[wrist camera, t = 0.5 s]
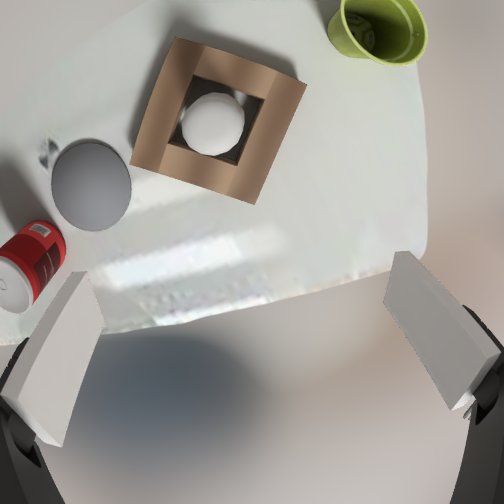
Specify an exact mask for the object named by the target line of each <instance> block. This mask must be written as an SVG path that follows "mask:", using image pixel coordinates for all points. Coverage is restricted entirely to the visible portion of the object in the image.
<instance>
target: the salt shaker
mask: <svg viewBox="0 0 504 504" xmlns="http://www.w3.org/2000/svg"><path fill="white" fill-rule="evenodd" d="M181 124H182V134H183V137H184V139H185V140H186V142H187V144H188V145H189V147H190V148H192V149H194V150H195V151H197V152H199V153H200V154H205V155H213V156H215V155H218V154H221V153H224V152H228V151H229V150H230V149H231V148H232V147H233V146H234V145H236V144H237V143H238V141H239V138H240V136H241V134H242V131H243V126H244V111H243V109H242V107H241V106H240V104H239V102H238V101H237V100H236V99H234V98H233V97H231V96H230V95H228V94H226V93H217V92H212V93H209V94H206V95H202V96H200V97H199V98H198V99H197V100H196V101H195V102H194V103H193V104H192V105H191V106H190V107H189V108H188V109H187V110H186V112H185V115H184V117H183V120H182V122H181Z"/></svg>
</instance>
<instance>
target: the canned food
mask: <svg viewBox="0 0 504 504" xmlns="http://www.w3.org/2000/svg"><path fill="white" fill-rule="evenodd" d="M65 255H66V245H65V241H64V238H63V236H62V234H61V233H60V232H59V230H58V229H57V228H56V227H55V226H53V225H52V224H50V223H48V222H46V221H35V222H31V223H29V224H28V225H26V226H25V227H24V228H23V229H22V230H20V231H19V232H18V233H17V234H16V235H14V236H13V237H12V238H11V239H10V240H9V241H8V242H6V243H5V244H4V245H3V246H2V247H1V248H0V307H2V308H3V309H5V310H6V311H8V312H10V313H14V314H23V313H25V312H27V311H28V309H29V308H30V307H31V306H32V304H33V303H34V302H35V300H36V299H37V298H38V296H39V295H40V293H41V292H42V291H43V289H44V288H45V286H46V285H47V284H48V282H49V281H50V280H51V278H52V277H53V276H54V274H55V273H56V272H57V270H58V269H59V268H60V266H61V265H62V263H63V262H64V259H65Z"/></svg>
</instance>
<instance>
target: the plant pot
mask: <svg viewBox="0 0 504 504" xmlns="http://www.w3.org/2000/svg"><path fill="white" fill-rule="evenodd" d="M348 16H353V17H356V18H357V19H358V20H354V19H351V18H348ZM327 32H328V37H329V40H330V41H331V43H332V44H333V45H334V46H335V48H336V49H337V50H338V51H339V52H340V53H342V54H344V55H346V56H348V57H352V58H367V59H372V60H374V61H376V62H378V63H381V64H384V65H388V66H407V65H410V64H412V63H414V62H416V61H417V60H418V59H419V58H420V57H421V56H422V55H423V53H424V51H425V49H426V45H427V39H428V34H427V33H428V32H427V26H426V23H425V20H424V18H423V15H422V14H421V11H420V10H419V8H418V7H417V5H416V4H415V3H414V1H413V0H341V2H340V8H339V9H338V11H337V12H336V13H335V14H334V16H333V17H332V18H331V20H330V21H329V24H328V28H327ZM352 32H354V33H355V36H353V35H352V34H351V33H352ZM369 34H370V35H371V39H372V40H371V43H370V44H369Z"/></svg>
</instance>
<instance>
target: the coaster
mask: <svg viewBox="0 0 504 504" xmlns="http://www.w3.org/2000/svg"><path fill="white" fill-rule="evenodd" d="M51 186H52V195H53V199H54V202H55V205H56V207H57V209H58V210H59V212H60V213H61V215H62V216H63V217H64V218H65V219H66V220H67V221H68V222H69V223H70V224H72V225H73V226H75V227H77V228H79V229H82V230H86V231H101V230H105V229H107V228H109V227H111V226H113V225H114V224H115V223H117V222H118V221H119V220H120V218H121V217H122V216H123V215H124V213H125V211H126V210H127V208H128V205H129V202H130V198H131V180H130V175H129V172H128V170H127V168H126V165H125V164H124V162H123V161H122V159H121V158H120V157H119V156H118V155H117V154H116V153H115V152H114V151H113V150H111V149H110V148H108V147H106V146H104V145H101V144H96V143H85V144H81V145H77V146H75V147H73V148H71V149H70V150H68V151H67V152H66V153H64V154H63V155H62V157H61V158H60V159H59V161H58V162H57V164H56V166H55V168H54V171H53V175H52V183H51Z"/></svg>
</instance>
